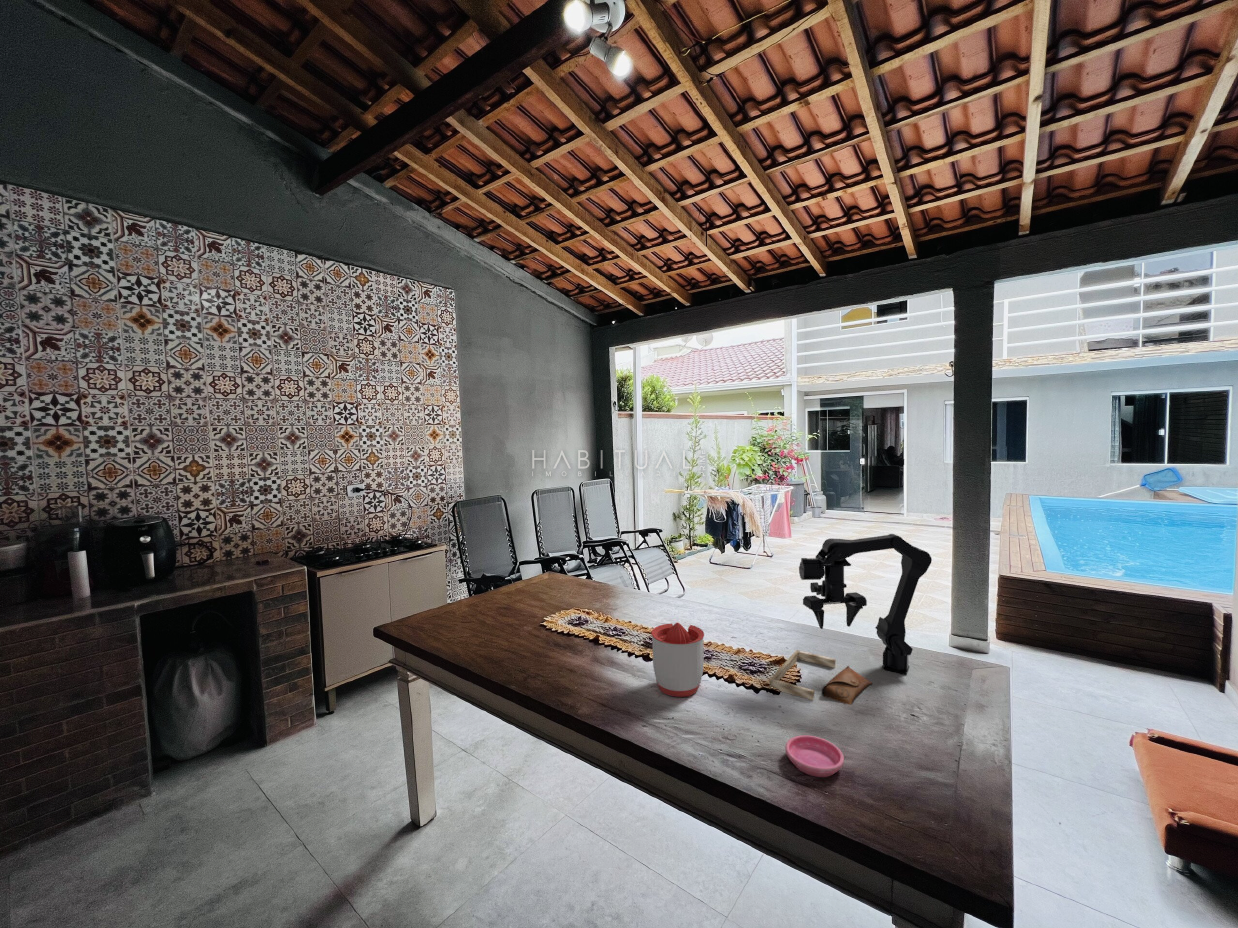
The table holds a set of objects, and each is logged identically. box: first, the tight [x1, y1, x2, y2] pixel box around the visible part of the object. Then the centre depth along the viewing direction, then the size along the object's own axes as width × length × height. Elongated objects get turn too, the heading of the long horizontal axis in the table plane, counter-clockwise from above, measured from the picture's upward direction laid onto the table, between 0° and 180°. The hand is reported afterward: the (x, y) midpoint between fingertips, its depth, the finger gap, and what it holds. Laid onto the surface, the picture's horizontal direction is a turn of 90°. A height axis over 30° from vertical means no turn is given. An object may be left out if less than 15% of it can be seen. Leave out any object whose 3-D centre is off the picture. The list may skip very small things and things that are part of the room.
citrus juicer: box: [651, 622, 705, 698], centre depth 151 cm, size 16×17×20 cm
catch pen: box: [769, 649, 837, 701], centre depth 155 cm, size 12×25×2 cm, turn 143°
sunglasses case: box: [821, 665, 873, 706], centre depth 148 cm, size 18×7×7 cm, turn 136°
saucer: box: [784, 734, 845, 778], centre depth 115 cm, size 12×12×3 cm
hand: (834, 627), depth 161 cm, fingers open, 9 cm apart
